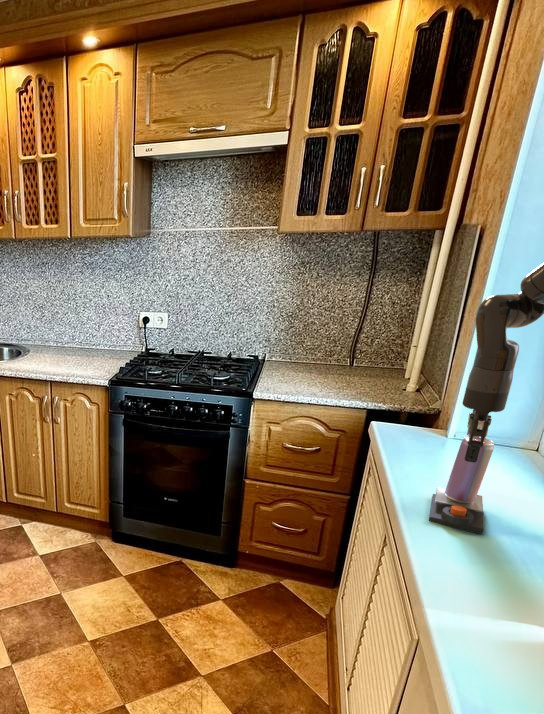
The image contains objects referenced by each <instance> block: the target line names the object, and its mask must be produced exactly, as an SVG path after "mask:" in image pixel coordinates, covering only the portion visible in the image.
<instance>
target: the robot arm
mask: <svg viewBox="0 0 544 714" xmlns="http://www.w3.org/2000/svg"><path fill="white" fill-rule="evenodd" d="M543 315H544V262H542V263H541V264H539V265H538V266H537V267H536V268H534V269H533V270H532V271H529V273H528V274H527V275H525V276H524V277H523V279H522V280H521V283H520V291H519V292H518V293H507V294H495V295H491V296H487V298H485V299H484V300H482V302H481V303H480V305H479V306H478V308H477V310H476V313H475V331H476V343H477V347H476V352H475V357H474V361H473V364H472V368H471V370H470V372H469V376H468V379H467V384H466V387H465V391H464V394H463V395H464V396H463V399H462V406H463V407H465V408H467V409H469V410H472V412H469V413H468V419H467V426H466V427H467V432H466V436H469V440H468V442H467V444H468V447H467V451H466V455H465V461H468V462H473V463H475V462H477V458H478V455H479V451H480V447H482V446H483V445H484V444H483V442H484V438H486V439H487V436H488V432H489V428H490V426H491V424H492V420H493V419H492V415H489V414H491V413H499V412H503V411H505V408H506V405H507V401H508V398H509V394H510V391H511V386H512V384H513V379H514V371H515V367H516V363H517V359H518V356H519V351H520V345H519V343H518V342H517V341H515V340H512V339H508V338H507V329H520V328H525V327H526V326H528V325H531V324H534V322H536V321H538V320H539V319H540V318H541V317H542V316H543ZM473 437H479V438H480V441H473V440H472V439H473Z"/></svg>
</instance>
